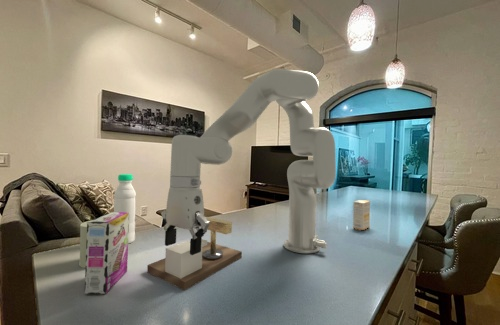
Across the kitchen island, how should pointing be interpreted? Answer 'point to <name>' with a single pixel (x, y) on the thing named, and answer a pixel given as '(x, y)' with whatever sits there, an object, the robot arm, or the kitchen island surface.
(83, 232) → the can
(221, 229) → the t key
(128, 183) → the water bottle
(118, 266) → the candy bar box
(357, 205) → the supplement box
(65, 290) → the kitchen island surface
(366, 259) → the kitchen island surface
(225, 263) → the panel
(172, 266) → the cream stepped block
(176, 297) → the kitchen island surface
